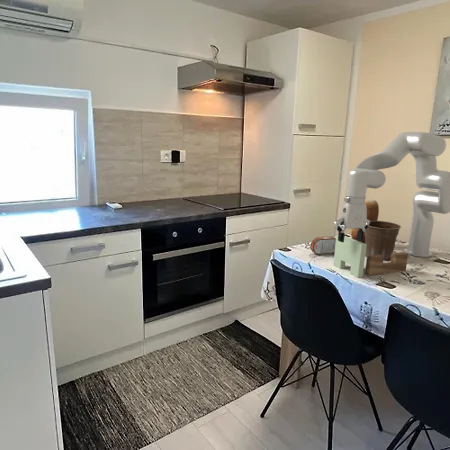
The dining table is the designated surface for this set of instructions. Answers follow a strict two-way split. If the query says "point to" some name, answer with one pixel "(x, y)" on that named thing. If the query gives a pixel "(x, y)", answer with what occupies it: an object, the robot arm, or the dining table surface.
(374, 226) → the plant pot
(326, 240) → the tin
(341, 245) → the green slotted plate
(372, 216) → the butternut squash
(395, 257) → the walnut slotted plate
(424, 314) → the dining table surface
